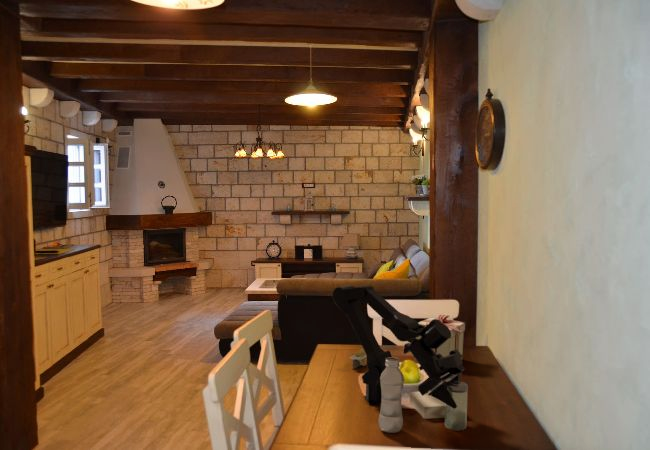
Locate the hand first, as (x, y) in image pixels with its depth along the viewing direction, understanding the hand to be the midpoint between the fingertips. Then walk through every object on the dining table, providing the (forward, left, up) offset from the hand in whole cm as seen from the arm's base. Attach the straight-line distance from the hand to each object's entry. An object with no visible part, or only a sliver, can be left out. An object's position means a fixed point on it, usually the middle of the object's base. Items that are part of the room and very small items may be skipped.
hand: (460, 404), depth 150 cm
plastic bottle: (-20, +1, -7) cm, 21 cm away
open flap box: (-15, +55, -7) cm, 58 cm away
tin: (-1, +1, -7) cm, 7 cm away
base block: (-2, +13, -7) cm, 15 cm away
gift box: (+20, +59, -7) cm, 63 cm away
